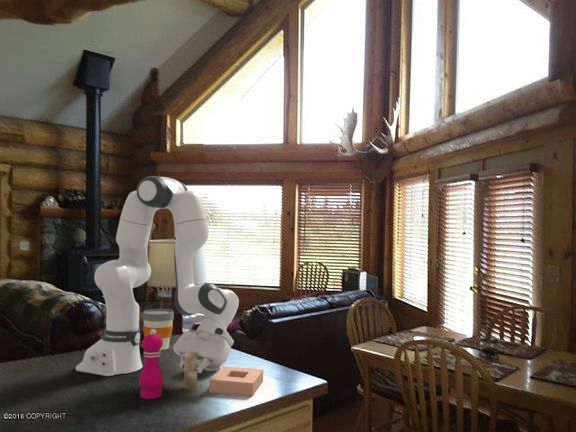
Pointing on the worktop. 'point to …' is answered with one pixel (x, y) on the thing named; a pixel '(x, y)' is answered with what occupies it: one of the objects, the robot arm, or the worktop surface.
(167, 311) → the reusable coffee cup
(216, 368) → the teacup
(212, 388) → the socket block
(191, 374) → the maple pin
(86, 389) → the worktop surface
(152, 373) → the pepper mill
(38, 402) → the worktop surface
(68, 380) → the worktop surface
